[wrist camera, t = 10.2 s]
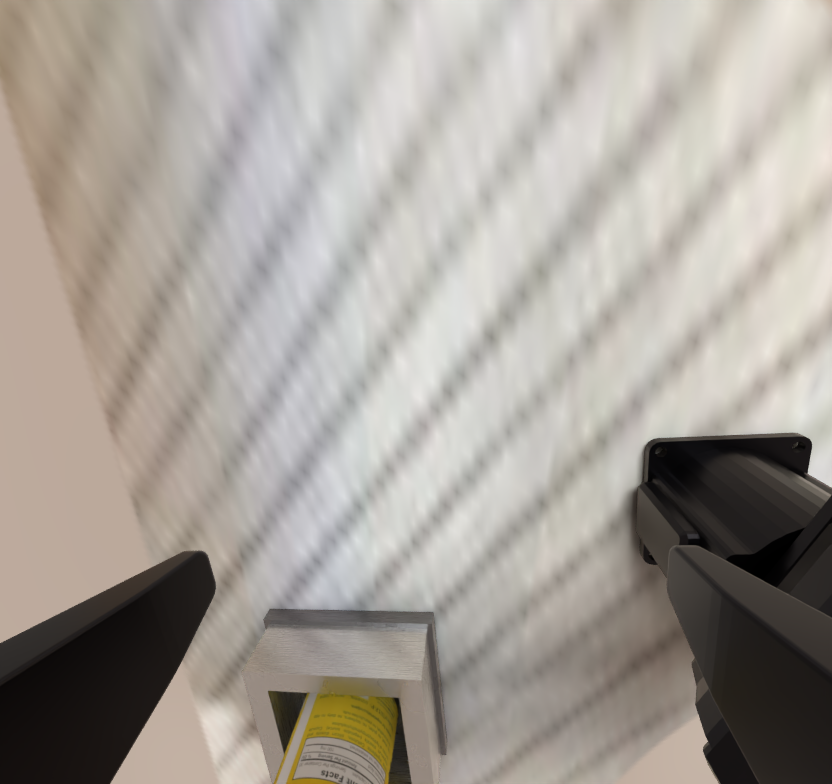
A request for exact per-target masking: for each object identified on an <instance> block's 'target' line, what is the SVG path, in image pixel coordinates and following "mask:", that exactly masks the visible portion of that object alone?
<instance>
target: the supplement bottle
mask: <svg viewBox="0 0 832 784" xmlns="http://www.w3.org/2000/svg"><path fill="white" fill-rule="evenodd" d="M399 706H400V699H399V698H394V697H375V696H356V695H338V694H319V693H307V695H306V698H305V700H304V703H303V706H302V708H301V711H300V714H299V717H298V719H297V722H296V725H295V727H294V730H293V732H292V735H291V738H290V741H289V743H288V746H287V749H286V751H285V754H284V757H283V759H282V762H281V765H280V767H279V770H278V773H277V775H276V778H275V781H274V783H273V784H388V781H389V775H390V767H391V761H392V755H393V748H394V741H395V735H396V727H397V721H398V714H399Z"/></svg>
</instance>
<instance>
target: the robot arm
mask: <svg viewBox="0 0 832 784" xmlns="http://www.w3.org/2000/svg"><path fill="white" fill-rule="evenodd" d="M796 442H798V445H797V446H796V447H795V448H792V446H793V444H795V443H796ZM659 447H663V450H662V451H661V452H660V453H657V454H656V453H655V451H656V449H657V448H659ZM811 450H812V442H811V441H810V439H808V438H807V437H805V436H803V435H800V434H798V433H777V434H752V435H728V436H703V437H678V438H657V439H653V440H651V441H650V442H649V443H648V444H647V445H646V449H645V466H644V482H642V483H641V484H640V485H639V487H638V499H637V518H636V532H637V534H638V535H639V537H640V554H641V556H642V557H643V559H644V560H645V562H647V563H648V564H652V565H658V566H659V567H660V569H661V570H662V572H663V573H664V575H665V576H666V578H667V591H668V595H669V598H670V601H671V603H672V606H673V608H674V610H675V613H676V615H677V617H678V620H679V622H680V624H681V627H682V629H683V631H684V634H685V636H686V638H687V641H688V643H689V645H690V648H691V650H692V652H693V654H694V657H695V659H694V660H693V661H692V668H693V673H694V677H695V681H696V686H697V689H696V703H695V705H696V708H697V711H698V714H699V717H700V720H701V723H702V727H703V730H704V733H705V736H706V738H707V740H708V742H707V743H706V744H705V746H704V747H703V752H704V755H705V758H706V760H707V763H708V765H709V767H710V769H711V771H712V772H713V774H714V776H715V778H716V779H717V781H718V783H719V784H832V488H831V487H829V486H828V485H826V484H824V483H822V482H821V481H819V480H817V479H815V478H814V477H812V476H810V475H809V474H807V473H808V467H809V461H810V455H811ZM650 553H651V555H649V554H650ZM215 589H216V582H215V579H214V575H213V572H212V568H211V565H210V561H209V558H208V555H207V554H206V553H205V552H204V551H184V552H182V553H180V554H178V555H176V556H174V557H172V558H170V559H168V560H166V561H164V562H162V563H160V564H158V565H156V566H154V567H152V568H150V569H148V570H146V571H144V572H142V573H140V574H138V575H136V576H134V577H132V578H130V579H128V580H126V581H124V582H122V583H120V584H118V585H116V586H114V587H112V588H110V589H108V590H106V591H104V592H102V593H100V594H98V595H96V596H94V597H92V598H90V599H88V600H86V601H84V602H82V603H80V604H78V605H76V606H74V607H72V608H70V609H68V610H66V611H64V612H62V613H60V614H58V615H56V616H54V617H52V618H50V619H48V620H46V621H44V622H42V623H40V624H38V625H36V626H34V627H32V628H30V629H28V630H26V631H24V632H22V633H20V634H18V635H16V636H14V637H12V638H10V639H8V640H6V641H4V642H2V643H0V784H110V783H111V781H112V780H113V778H114V776H115V775H116V773H117V771H118V770H119V768H120V766H121V764H122V763H123V761H124V760H125V758H126V756H127V755H128V753H129V751H130V749H131V748H132V746H133V744H134V743H135V741H136V739H137V738H138V736H139V734H140V733H141V731H142V729H143V728H144V726H145V724H146V723H147V721H148V719H149V718H150V716H151V714H152V712H153V711H154V709H155V707H156V706H157V704H158V702H159V701H160V699H161V697H162V696H163V694H164V692H165V691H166V689H167V687H168V685H169V684H170V682H171V680H172V679H173V677H174V675H175V673H176V671H177V669H178V667H179V666H180V664H181V662H182V660H183V658H184V656H185V654H186V652H187V650H188V648H189V646H190V644H191V642H192V639H193V637H194V635H195V633H196V631H197V629H198V627H199V625H200V623H201V621H202V619H203V617H204V615H205V613H206V611H207V609H208V607H209V605H210V603H211V601H212V599H213V597H214V594H215Z"/></svg>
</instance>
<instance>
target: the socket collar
mask: <svg viewBox="0 0 832 784" xmlns="http://www.w3.org/2000/svg"><path fill="white" fill-rule="evenodd" d="M264 624H265V628H266V630H265V632H264V634H263V636H262V637H261V639H260V641H259V643H258V644H257V646H256V648H255V650H254V651H253V653H252V655H251V656H250V658H249V660H248V662H247V663H246V665H245V667H244V669H243V670H242V675H243V679H244V682H245V686H246V690H247V693H248V697H249V701H250V704H251V708H252V712H253V715H254V719H255V722H256V726H257V730H258V733H259V737H260V741H261V744H262V748H263V752H264V755H265V759H266V763H267V766H268V770H269V773H270V777H271V781H272V784H273V783H274V781H275V778H276V775H277V773H278V770H279V767H280V765H281V762H282V759H283V757H284V754H285V751H286V749H287V746H288V743H289V741H290V738H291V735H292V732H293V730H294V727H295V725H296V722H297V719H298V717H299V714H300V711H301V708H302V706H303V703H304V700H305V698H306V695H307V693H319V694H338V695H356V696H375V697H394V698H399V699H400V706H399V714H398V721H397V727H396V735H395V741H394V748H393V755H392V761H391V767H390V775H389V781H388V784H439V778H440V761H441V755H446V751H447V736H446V726H445V717H444V708H443V699H442V689H441V680H440V671H439V661H438V652H437V643H436V633H435V624H434V615H433V612H386V611H338V610H291V609H270V610H269V611H268V613H267V615H266V616H265V618H264Z"/></svg>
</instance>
